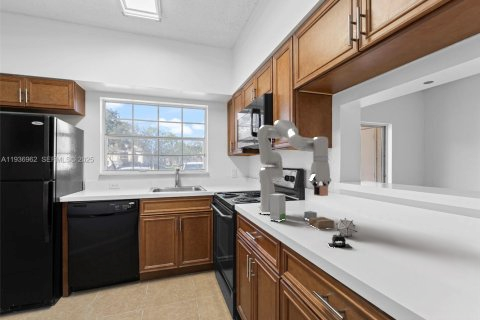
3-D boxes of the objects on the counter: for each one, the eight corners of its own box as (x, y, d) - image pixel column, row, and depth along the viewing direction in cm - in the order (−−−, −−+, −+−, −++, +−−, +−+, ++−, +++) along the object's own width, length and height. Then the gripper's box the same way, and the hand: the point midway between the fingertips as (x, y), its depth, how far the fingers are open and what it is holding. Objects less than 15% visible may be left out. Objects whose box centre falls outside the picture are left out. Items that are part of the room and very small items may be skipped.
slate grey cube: (304, 220, 137) (304, 211, 137) (310, 219, 139) (310, 211, 139) (310, 221, 132) (310, 213, 133) (316, 221, 135) (316, 212, 135)
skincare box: (279, 222, 130) (279, 195, 130) (269, 220, 134) (269, 194, 134) (286, 220, 136) (286, 193, 137) (276, 218, 140) (276, 193, 141)
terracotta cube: (313, 194, 122) (313, 185, 122) (320, 194, 124) (320, 185, 125) (320, 196, 118) (320, 186, 118) (328, 195, 120) (327, 186, 120)
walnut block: (308, 226, 124) (308, 217, 124) (323, 225, 126) (323, 216, 126) (318, 230, 115) (318, 221, 115) (334, 229, 117) (334, 220, 118)
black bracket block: (350, 244, 95) (350, 233, 95) (358, 251, 88) (358, 239, 88) (320, 243, 96) (320, 232, 96) (326, 249, 89) (326, 238, 89)
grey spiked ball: (344, 245, 103) (332, 228, 102) (341, 233, 111) (330, 217, 110) (363, 238, 99) (351, 220, 98) (359, 226, 107) (348, 210, 106)
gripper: (326, 160, 129) (326, 192, 128) (303, 159, 121) (303, 194, 121) (337, 160, 122) (337, 194, 122) (313, 159, 115) (314, 195, 114)
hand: (320, 193), depth 121 cm, fingers closed on terracotta cube, 5 cm apart
